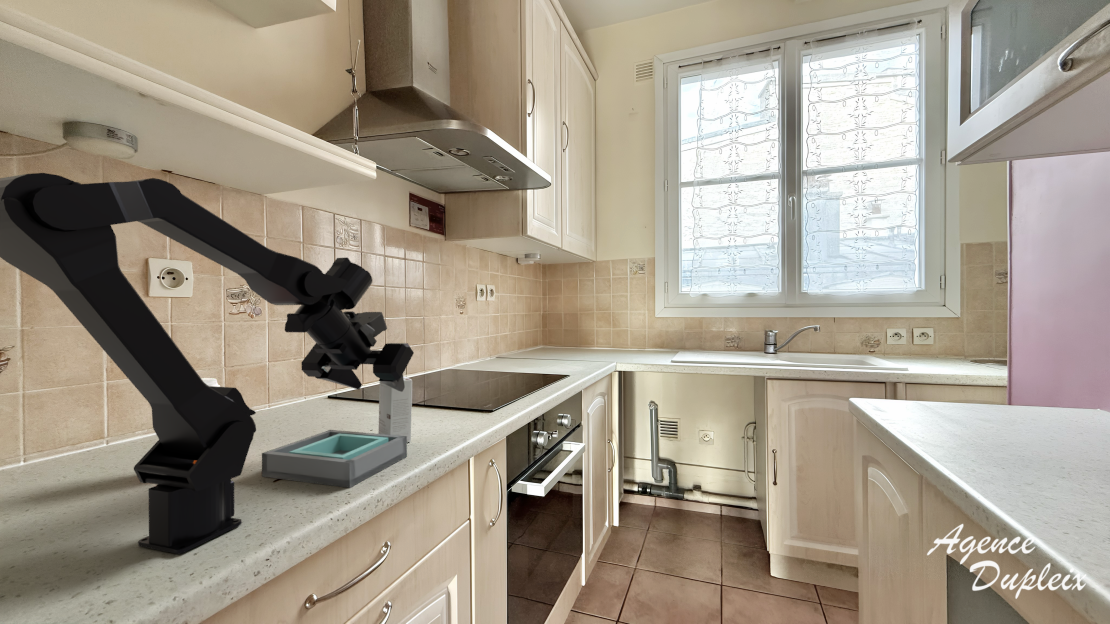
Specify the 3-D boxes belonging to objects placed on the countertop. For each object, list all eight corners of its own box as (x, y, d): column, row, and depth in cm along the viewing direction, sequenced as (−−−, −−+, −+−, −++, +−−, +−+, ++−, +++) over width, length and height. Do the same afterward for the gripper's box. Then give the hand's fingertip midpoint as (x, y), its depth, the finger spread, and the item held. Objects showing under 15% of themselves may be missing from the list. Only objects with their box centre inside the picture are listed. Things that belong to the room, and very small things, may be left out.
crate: (349, 487, 59) (349, 462, 59) (262, 476, 63) (261, 453, 63) (406, 456, 71) (406, 436, 71) (330, 449, 75) (330, 429, 75)
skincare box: (377, 440, 81) (376, 377, 81) (400, 435, 84) (399, 374, 84) (389, 447, 76) (389, 381, 76) (413, 442, 79) (413, 378, 79)
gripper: (406, 294, 68) (442, 354, 79) (314, 296, 73) (360, 352, 84) (373, 346, 61) (418, 405, 71) (273, 345, 66) (330, 400, 77)
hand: (381, 388), depth 76 cm, fingers open, 9 cm apart
